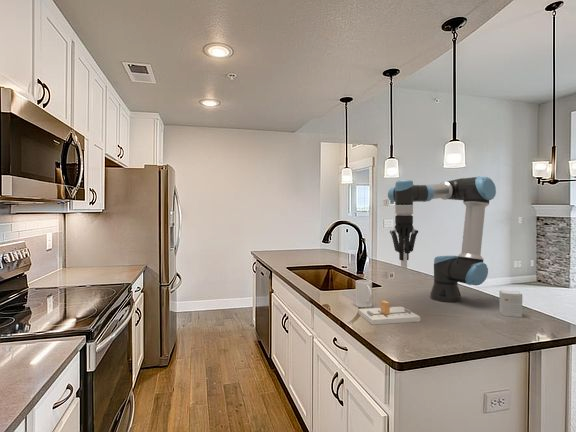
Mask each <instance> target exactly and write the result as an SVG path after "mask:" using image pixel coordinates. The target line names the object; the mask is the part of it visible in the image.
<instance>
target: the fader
mask: <svg viewBox="0 0 576 432" xmlns="http://www.w3.org/2000/svg"><path fill="white" fill-rule="evenodd" d="M390 305H391V304H390V302H389V301H387V300H380V308H381V313H383V314H384V315H386V314H390Z"/></svg>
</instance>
